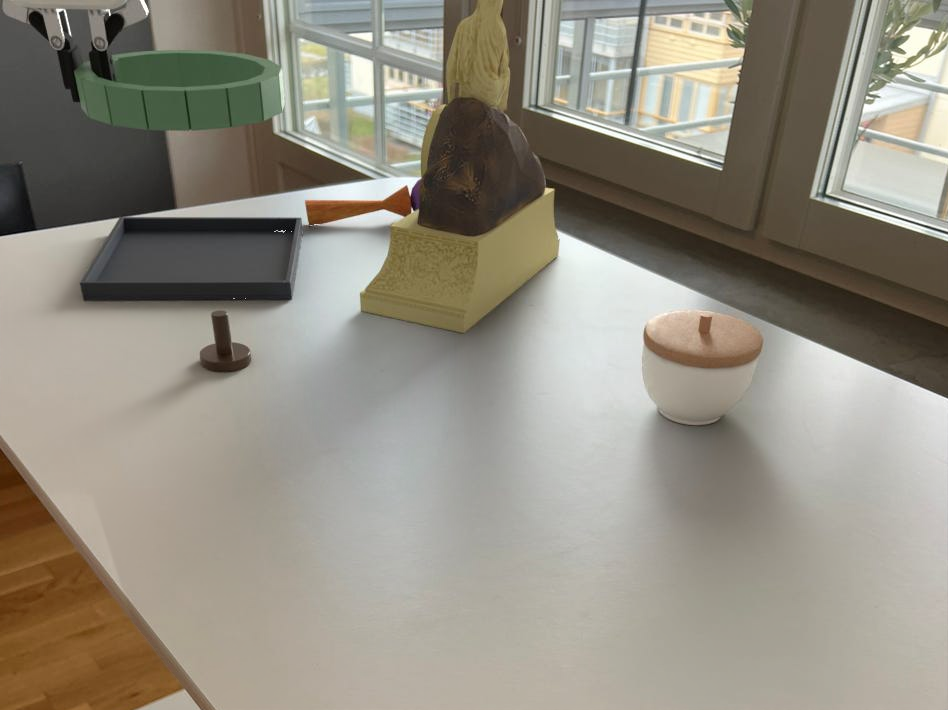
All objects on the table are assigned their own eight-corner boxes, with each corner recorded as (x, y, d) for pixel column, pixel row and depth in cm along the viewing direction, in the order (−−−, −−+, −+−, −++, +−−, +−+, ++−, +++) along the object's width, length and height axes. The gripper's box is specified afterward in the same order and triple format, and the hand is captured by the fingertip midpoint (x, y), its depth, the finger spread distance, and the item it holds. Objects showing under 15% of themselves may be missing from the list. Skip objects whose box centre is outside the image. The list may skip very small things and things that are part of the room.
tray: (83, 300, 111) (79, 282, 110) (122, 232, 129) (119, 216, 128) (292, 299, 113) (290, 282, 112) (302, 233, 131) (301, 217, 130)
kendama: (302, 187, 133) (448, 171, 136) (310, 234, 136) (452, 217, 138) (303, 191, 128) (455, 174, 130) (311, 240, 131) (459, 223, 133)
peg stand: (197, 372, 98) (189, 323, 95) (204, 351, 102) (196, 303, 99) (248, 371, 99) (242, 323, 95) (253, 350, 102) (247, 303, 99)
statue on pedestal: (467, 238, 131) (473, -34, 112) (558, 255, 127) (580, -25, 108) (360, 310, 111) (345, -6, 92) (463, 333, 107) (470, 8, 88)
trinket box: (674, 446, 89) (691, 347, 83) (612, 396, 97) (624, 301, 91) (769, 425, 93) (792, 328, 87) (703, 378, 100) (720, 286, 94)
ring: (61, 128, 82) (52, 88, 80) (106, 83, 95) (100, 47, 93) (275, 132, 83) (271, 92, 81) (290, 87, 97) (288, 52, 95)
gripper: (-81, -170, 73) (-10, 107, 85) (136, -161, 74) (176, 111, 86) (-47, -172, 79) (15, 88, 91) (154, -164, 80) (189, 92, 92)
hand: (93, 97), depth 88 cm, fingers closed on ring, 1 cm apart
